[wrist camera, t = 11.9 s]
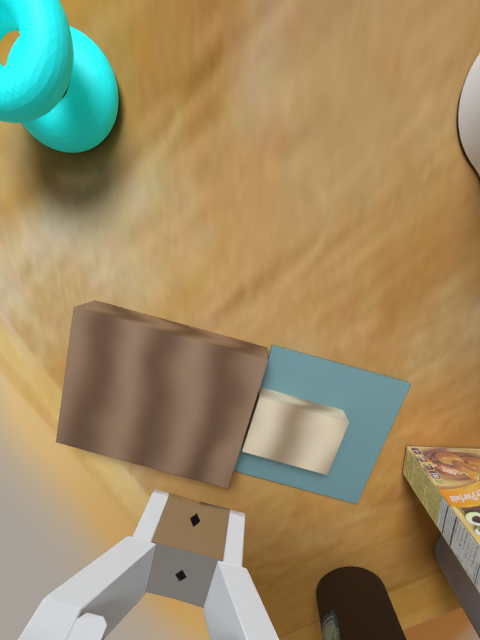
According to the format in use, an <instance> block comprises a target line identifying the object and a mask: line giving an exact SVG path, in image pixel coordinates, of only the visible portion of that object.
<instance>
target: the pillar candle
mask: <svg viewBox="0 0 480 640" xmlns="http://www.w3.org/2000/svg"><path fill="white" fill-rule="evenodd" d="M434 553H435V557H436V560H437V563H438V565H439V567H440V569H441V570H442V572H443V574H444V576H445V578H446V579H447V581H448V583H449V585H450V586H451V588H452V590H453V592H454V594H455V595H456V597H457V599H458V601H459V603H460V604H461V606H462V608H463V610H464V611H465V613H466V615H467V616H468V618H469V620H470V622H471V623H472V625H473V627H474V629H475V630H476V632H477V634H478V636H479V638H480V594H479V592H478V591H477V589H476V588H475V586H474V584H473V583H472V581H471V580H470V578H469V577H468V575H467V573H466V572H465V570H464V569H463V567H462V566H461V564H460V562H459V561H458V559H457V558H456V556H455V555H454V553H453V551H452V550H451V548H450V547H449V545H448V544H447V542H446V541H445V539H444V537H443V536H442V534H441V535H440V537H439V538H438V539H437V541H436V545H435V548H434Z"/></svg>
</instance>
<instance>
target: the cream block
mask: <svg viewBox="0 0 480 640" xmlns="http://www.w3.org/2000/svg"><path fill="white" fill-rule="evenodd" d="M348 424H349V421H348V419H347V417H346V415H345V413H344V411H343V410H341V409H337V408H334V407H330V406H327V405H323V404H320V403H316V402H312V401H309V400H305V399H302V398H298V397H294V396H291V395H287V394H284V393H280V392H277V391H273V390H269V389H266V388H262V387H260V388H259V391H258V394H257V398H256V401H255V404H254V407H253V410H252V414H251V417H250V420H249V423H248V426H247V430H246V433H245V436H244V439H243V446H242V452H246V453H249V454H253V455H256V456H260V457H264V458H267V459H271V460H275V461H278V462H282V463H285V464H289V465H293V466H296V467H300V468H303V469H307V470H311V471H314V472H318V473H321V474H325V475H328V472H329V470H330V468H331V465H332V463H333V460H334V458H335V456H336V453H337V451H338V448H339V446H340V444H341V441H342V439H343V436H344V434H345V432H346V429H347V427H348Z"/></svg>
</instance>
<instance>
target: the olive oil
mask: <svg viewBox="0 0 480 640" xmlns="http://www.w3.org/2000/svg"><path fill="white" fill-rule="evenodd" d="M317 603H318V610H319V616H320V623H321V631H322V638H323V640H406V638H405V635H404V633H403V630H402V628H401V626H400V623H399V621H398V618H397V616H396V613H395V611H394V608H393V606H392V603H391V601H390V598H389V596H388V593H387V591H386V589H385V586H384V584H383V583H382V581H381V580H380V578H379V577H378V576H376V575H375V574H374V573H372V572H370V571H368V570H366V569H363V568H358V567H344V568H339V569H336V570H333V571H331V572H330V573H328V574H327V575H325V576H324V577H323V578H322V580H321V581H320V582H319V584H318V587H317Z"/></svg>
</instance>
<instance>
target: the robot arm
mask: <svg viewBox="0 0 480 640" xmlns="http://www.w3.org/2000/svg"><path fill="white" fill-rule="evenodd" d="M458 123H459V133H460V138H461V142H462V145H463V148H464V150H465V153H466V155H467V157H468V158H469V160H470V162H471V163H472V165H473V166H474V168H475V169H476V171H477V172H478V174H479V176H480V54H479V55H478V57H477V59H476V60H475V62H474V64H473V65H472V67H471V69H470V71H469V74H468V76H467V78H466V81H465V84H464V87H463V90H462V94H461V98H460V104H459V114H458ZM244 532H245V513H242V512H238V511H234V510H229V509H227V508H223V507H219V506H215V505H211V504H207V503H203V502H198V501H195V500H191V499H188V498H185V497H181V496H178V495H175V494H171V493H167V492H164V491H160V490H157V489H155V490H154V491H153V493H152V495H151V497H150V499H149V501H148V504H147V506H146V508H145V510H144V512H143V515H142V517H141V519H140V521H139V523H138V526H137V528H136V530H135V532H134V534H133V537H130V536H127V537H126V538H124V539H123V540H121V541H120V542H119V543H118V544H116V545H115V546H113V547H112V548H111V549H110V550H108V551H107V552H105V553H104V554H103V555H101V556H100V557H99V558H97V559H96V560H95V561H93V562H92V563H91V564H89V565H88V566H87V567H85V568H84V569H82V570H81V571H80V572H78V573H77V574H76V575H74V576H73V577H72V578H70V579H69V580H68V581H66V582H65V583H64V584H63V585H61V586H60V587H58V588H57V589H56V590H54V591H53V592H52V593H50V594H49V595H48V596H46V597H45V598H44V599H43V601H42V602H41V604H40V606H39V607H38V609H37V610H36V612H35V613H34V615H33V617H32V618H31V620H30V622H29V623H28V625H27V626H26V628H25V629H24V631H23V633H22V634H21V636H20V637H19V639H18V640H104V639H105V637H106V636H107V635H108V634H109V633H110V632H111V631H112V630H113V629H114V628H115V627H116V626H117V624H118V623H119V622H120V621H121V620H122V619H123V618H124V617H125V616H126V615H127V613H128V612H129V611H130V610H131V609H132V608H133V607H134V606H135V605H136V604H137V603H138V601H139V600H140V599H141V598H142V597H143V596H144V595H145V592H148V593H152V594H157V595H161V596H165V597H169V598H173V599H177V600H180V601H183V602H187V603H190V604H193V605H196V606H199V607H202V608H203V612H204V616H205V620H206V624H207V628H208V633H209V637H210V640H279V638H278V636H277V634H276V631H275V629H274V627H273V625H272V623H271V620H270V618H269V616H268V614H267V612H266V609H265V607H264V605H263V603H262V601H261V598H260V596H259V594H258V592H257V590H256V587H255V585H254V583H253V581H252V578H251V576H250V574H249V572H248V570H247V568H243V567H242V562H243V547H244Z"/></svg>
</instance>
